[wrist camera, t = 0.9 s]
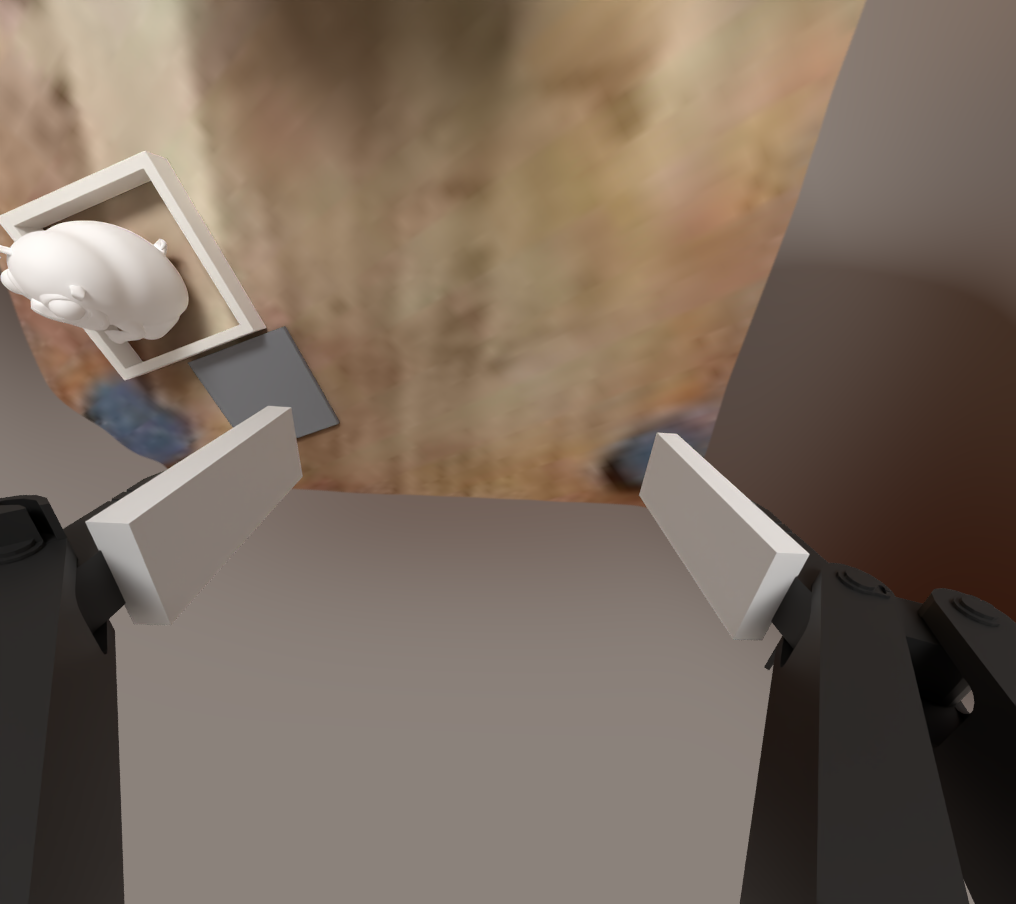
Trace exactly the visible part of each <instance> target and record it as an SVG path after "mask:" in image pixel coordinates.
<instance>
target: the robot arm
mask: <svg viewBox="0 0 1016 904" xmlns="http://www.w3.org/2000/svg"><path fill="white" fill-rule="evenodd" d="M302 477H303V476H302V470H301V464H300V458H299V452H298V446H297V440H296V434H295V428H294V422H293V416H292V409H291V407H279V406H267V407H265V408H264V409H262V410H261V411H259V412H257V413H256V414H254V415H253V416H251V417H250V418H248V419H246V420H245V421H243V422H242V423H240V424H239V425H237V426H235V427H234V428H232V429H231V430H229V431H227V432H226V433H224V434H223V435H221V436H220V437H218V438H216V439H215V440H213V441H212V442H210V443H209V444H207V445H205V446H204V447H202V448H201V449H199V450H198V451H196V452H194V453H193V454H191V455H190V456H188V457H186V458H185V459H183V460H182V461H180V462H179V463H177V464H175V465H174V466H172V467H171V468H169V469H168V470H166V471H163V472H161V473H158V474H155V475H153V476H150V477H147V478H145V479H143V480H142V481H140V482H138V483H137V484H135V485H133V486H132V487H130V488H129V489H127V492H122V493H121V494H119V495H117V496H116V497H114V498H112V501H111V502H110V501H108V502H106V503H105V504H103V505H101V506H100V507H98V508H97V509H95V510H93V511H92V512H90V513H88V514H87V515H85V516H83V517H82V518H80V519H79V520H77V521H75V522H74V523H72V524H70V525H69V526H67V527H66V528H64V529H62V527H61V525H60V523H59V521H58V519H57V517H56V515H55V514H54V511H53V509H52V507H51V505H50V504H49V502H48V500H47V498H45V497H41V496H37V495H19V496H13V497H6V498H0V904H124V879H123V853H122V852H123V851H122V822H121V795H120V766H119V738H118V708H117V682H116V681H117V679H116V651H115V630H114V628H113V626H112V624H111V622H110V621H109V618H110V617H111V616H113V615H114V614H115V613H116V612H117V611H118V610H119V609H120V608H121V607H122V606H123V605H125V607H126V609H127V611H128V613H129V615H130V617H131V619H132V621H133V623H134V624H147V625H171V624H172V623H173V622H174V621H175V620H176V619H177V617H179V615H180V614H181V613H182V612H183V611H184V610H185V608H187V606H188V605H189V604H190V603H191V602H192V601H193V600H194V598H195V597H196V596H197V595H198V594H199V593H200V592H201V591H202V589H203V588H204V587H205V586H206V585H207V584H208V583H209V581H210V580H211V579H212V578H213V577H214V576H215V575H216V574H217V572H218V571H219V570H220V569H221V568H222V567H223V566H224V564H225V563H226V562H227V561H228V560H229V559H230V558H231V557H232V555H233V554H234V553H235V552H236V551H237V550H238V549H239V548H240V547H241V545H242V544H243V543H244V542H245V541H246V540H247V539H248V538H249V536H250V535H251V534H252V533H253V532H254V531H255V530H256V528H257V527H258V526H259V525H260V524H261V523H262V522H263V521H264V519H265V518H266V517H267V516H268V515H269V514H270V513H271V512H272V510H273V509H274V508H275V507H276V506H277V505H278V504H279V503H280V501H281V500H282V499H283V498H284V497H285V496H286V495H287V493H288V492H289V491H290V490H291V489H292V488H293V487H294V486H295V484H296V483H297V482H298V481H299V480H300V479H301V478H302ZM639 496H640V497H641V499H642V500H643V502H644V503H645V505H646V506H647V508H648V510H649V511H650V512H651V514H652V516H653V517H654V519H655V520H656V521H657V523H658V525H659V526H660V528H661V529H662V531H663V533H664V534H665V536H666V537H667V539H668V540H669V542H670V543H671V545H672V546H673V548H674V549H675V551H676V553H677V554H678V556H679V557H680V559H681V560H682V562H683V563H684V565H685V566H686V568H687V570H688V571H689V573H690V574H691V576H692V577H693V579H694V580H695V582H696V583H697V585H698V586H699V588H700V590H701V591H702V593H703V594H704V596H705V597H706V599H707V600H708V602H709V603H710V605H711V606H712V608H713V610H714V611H715V613H716V614H717V616H718V617H719V619H720V620H721V622H722V623H723V625H724V626H725V628H726V630H727V631H728V633H729V634H730V636H731V637H732V639H733V640H762V639H763V638H764V636H765V634H766V632H767V630H768V629H769V627H770V625H771V623H773V624H774V625H775V627H776V628H777V629H778V630H779V632H780V633H781V634H782V635H783V636H782V638H781V639H780V641H779V643H778V644H777V646H776V648H775V650H774V651H773V653H772V655H771V656H770V658H769V660H768V662H767V663H766V665H765V668H766V669H768V670H770V668H771V667H772V665H774V666H773V673H772V680H771V688H770V694H769V702H768V709H767V715H766V722H765V729H764V736H763V743H762V751H761V758H760V765H759V772H758V779H757V786H756V794H755V800H754V807H753V814H752V821H751V828H750V835H749V842H748V850H747V856H746V863H745V871H744V878H743V885H742V892H741V899H740V904H969V901H968V896H967V892H966V888H965V884H964V881H965V883H966V886H967V888H968V890H969V892H970V894H971V896H972V899H973V901H974V903H975V904H1016V623H1015V622H1014V621H1013V620H1011V619H1010V618H1009V617H1008V616H1007V615H1005V614H1004V613H1002V612H1000V611H999V610H997V609H996V608H994V606H993V605H991V604H989V603H987V602H985V601H983V600H982V601H980V599H979V598H977V597H974V596H972V595H966V594H964V593H961V592H958V591H954V590H949V589H944V588H942V589H934V590H933V592H932V593H931V595H930V596H929V597H928V598H927V600H926V601H925V602H924V603H923V604H921V603H917V602H913V601H910V600H906V599H901V598H897V597H895V595H894V594H893V592H892V591H891V590H890V589H889V588H888V587H887V586H885V585H884V584H883V583H882V582H880V581H879V580H877V579H875V578H874V577H873V576H871V575H869V574H867V573H865V572H863V571H861V570H859V569H856V568H853V567H850V566H847V565H844V564H837V563H828V562H827V561H826V560H824V559H823V558H822V557H821V556H820V555H818V553H816V552H815V551H814V550H813V549H812V548H811V547H810V546H808V545H807V544H806V543H805V542H804V541H803V540H802V539H800V538H799V537H798V536H797V535H796V534H793V533H792V531H791V530H790V529H789V528H788V527H787V526H786V525H785V524H782V523H781V521H780V520H779V519H778V518H777V517H776V516H774V515H773V514H772V513H771V512H770V511H769V510H767V509H765V508H763V507H762V506H760V505H758V504H756V503H755V502H753V501H750V500H749V499H748V498H747V497H746V496H745V495H744V494H743V493H741V492H740V491H739V490H738V489H737V488H736V487H735V486H734V485H732V484H731V483H730V482H729V481H728V480H727V479H726V478H725V477H724V476H723V475H721V474H720V473H719V472H718V471H717V470H716V469H715V468H714V467H712V466H711V465H710V464H709V463H708V462H707V461H706V460H705V459H704V458H703V457H702V456H700V455H699V454H698V453H697V452H696V451H695V450H694V449H693V448H692V447H691V446H689V445H688V444H687V443H686V442H685V441H684V440H683V439H682V438H681V437H679V436H678V435H677V434H670V433H657V434H656V438H655V441H654V445H653V448H652V452H651V455H650V459H649V462H648V466H647V470H646V473H645V477H644V480H643V484H642V487H641V491H640V494H639ZM971 690H972V692H973V695H974V708H973V711H972V713H969V712H968V711H967V709H966V708H965V707H964V705H963V703H962V702H961V700H962V699H963V698H964V697H965V696H966V695H967V694H968V693H969V692H970V691H971ZM963 879H964V880H963Z"/></svg>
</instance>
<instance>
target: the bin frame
mask: <svg viewBox="0 0 1016 904" xmlns="http://www.w3.org/2000/svg"><path fill="white" fill-rule="evenodd" d="M149 181H152V183H153V185H154V186H155V188H156V189H157V191H158V193H159V194H160V196H161V198H162V199H163V201H164V202H165V204H166V206H167V207H168V209H169V211H170V212H171V214H172V215H173V217H174V219H175V220H176V222H177V224H178V225H179V227H180V228H181V230H182V232H183V233H184V235H185V237H186V238H187V240H188V241H189V243H190V245H191V246H192V248H193V249H194V251H195V253H196V254H197V256H198V258H199V259H200V261H201V262H202V264H203V266H204V267H205V269H206V271H207V272H208V274H209V275H210V277H211V279H212V280H213V282H214V284H215V285H216V287H217V288H218V290H219V292H220V293H221V295H222V297H223V298H224V300H225V301H226V303H227V305H228V306H229V308H230V310H231V311H232V313H233V314H234V316H235V318H236V319H237V321H238V323H239V324H240V325H238V326H235V327H233V328H230V329H228V330H225V331H222V332H220V333H217V334H215V335H212V336H209V337H207V338H204V339H202V340H199V341H196V342H194V343H191V344H189V345H186V346H183V347H181V348H178V349H176V350H173V351H170V352H168V353H165V354H163V355H160V356H157V357H155V358H152V359H150V360H147V361H144V362H143V361H142V360H141V358H140V357H139V356H138V354H137V353H136V352H135V351H134V349H133V348H132V347H131V345H130V344H129V343H128V341H125V342H124V343H122V344H118V343H115V342H113V341H112V340H111V339H109V337H108V335H107V334H106V333H105V331H107V330H109V331H110V330H117V331H119V329H118V328H117V327H116V326H114V325H109V327H108V328H107V329H105V330H102V331H94V330H89V329H85V328H83V329H84V330H85V331H86V333H87V334H88V335H89V336H90V338H91V339H92V340H93V341H94V343H95V344H96V345H97V346H98V348H99V349H100V350H101V352H102V353H103V354H104V355H105V357H106V358H107V359H108V360H109V362H110V363H111V364H112V365H113V367H114V368H115V369H116V370H117V372H118V373H119V374H120V376H121V377H122V378H123V379H124V380H128V379H131V378H134V377H138V376H141V375H144V374H147V373H149V372H152V371H155V370H157V369H160V368H163V367H165V366H168V365H170V364H173V363H176V362H178V361H181V360H184V359H186V358H189V357H191V356H194V355H197V354H199V353H202V352H205V351H207V350H210V349H212V348H215V347H218V346H220V345H223V344H226V343H228V342H231V341H233V340H236V339H239V338H241V337H244V336H247V335H249V334H252V333H254V332H257V331H260V330H262V329H265V328H267V327H266V326H265V324H264V322H263V321H262V319H261V317H260V316H259V314H258V312H257V310H256V309H255V307H254V305H253V304H252V302H251V300H250V299H249V297H248V295H247V293H246V292H245V290H244V288H243V287H242V285H241V283H240V282H239V280H238V278H237V277H236V275H235V273H234V271H233V270H232V268H231V266H230V265H229V263H228V261H227V260H226V258H225V256H224V254H223V253H222V251H221V249H220V248H219V246H218V244H217V243H216V241H215V239H214V237H213V236H212V234H211V232H210V231H209V229H208V227H207V226H206V224H205V222H204V220H203V219H202V217H201V215H200V214H199V212H198V210H197V209H196V207H195V205H194V203H193V202H192V200H191V198H190V197H189V195H188V193H187V192H186V190H185V188H184V186H183V185H182V183H181V181H180V180H179V178H178V176H177V175H176V173H175V171H174V169H173V168H172V166H171V164H170V163H169V161H168V159H167V158H165V157H162V156H159V155H156V154H154V153H151V152H148V151H143V152H140V153H138V154H136V155H134V156H132V157H129V158H127V159H125V160H123V161H120V162H118V163H116V164H114V165H112V166H109V167H107V168H105V169H103V170H100V171H98V172H96V173H94V174H91V175H89V176H87V177H85V178H83V179H80V180H78V181H76V182H74V183H71V184H69V185H67V186H65V187H63V188H60V189H58V190H56V191H54V192H51V193H49V194H47V195H45V196H42V197H40V198H38V199H36V200H34V201H31V202H29V203H27V204H25V205H22V206H20V207H18V208H16V209H14V210H11V211H9V212H7V213H5V214H2V215H0V224H1V225H2V227H3V228H4V229H5V230H6V232H7V233H8V234H9V235H10V237H11V238H12V239H13V240H14V242H15V241H16V240H18V239H19V238H20V237H22V236H24V235H26V234H28V233H31V232H35V231H44V230H43V228H45V227H47V226H49V225H51V224H54V223H56V222H58V221H61V220H63V219H65V218H67V217H70V216H72V215H74V214H76V213H79V212H81V211H83V210H86V209H88V208H90V207H92V206H95V205H97V204H99V203H102V202H104V201H106V200H108V199H111V198H113V197H115V196H117V195H120V194H122V193H124V192H127V191H129V190H131V189H133V188H136V187H138V186H140V185H143V184H145V183H147V182H149Z"/></svg>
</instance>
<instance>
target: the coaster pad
mask: <svg viewBox="0 0 1016 904" xmlns="http://www.w3.org/2000/svg"><path fill="white" fill-rule="evenodd" d="M188 364H189V366H190V367H191V368H192V370H193V371H194V373H195V374H196V376H197V377H198V378H199V380H200V381H201V383H202V384H203V385H204V387H205V388H206V390H207V391H208V393H209V394H210V395H211V397H212V398H213V400H214V401H215V403H216V404H217V405H218V407H219V408H220V410H221V411H222V413H223V414H224V415H225V417H226V418H227V420H228V421H229V422H230V424H231V425H232V427H233V428H234V427H235V426H237V425H239V424H240V423H242V422H243V421H245V420H246V419H248V418H250V417H251V416H253V415H254V414H256V413H257V412H259V411H261V410H262V409H264V408H265V407H267V406H279V407H291V409H292V416H293V422H294V428H295V434H296V438H299V437H302V436H304V435H307V434H310V433H313V432H316V431H319V430H322V429H325V428H328V427H330V426H333V425H336V424H338V423H339V420H338V418H337V416H336V415H335V413H334V411H333V409H332V408H331V406H330V404H329V402H328V401H327V399H326V397H325V395H324V393H323V392H322V390H321V388H320V386H319V385H318V383H317V381H316V379H315V378H314V376H313V374H312V372H311V371H310V369H309V367H308V365H307V363H306V362H305V360H304V358H303V356H302V355H301V353H300V351H299V349H298V348H297V346H296V344H295V342H294V341H293V339H292V337H291V335H290V334H289V332H288V330H287V328H286V326H284V327H281V328H278V329H276V330H273V331H271V332H268V333H265V334H263V335H260V336H257V337H255V338H252V339H249V340H247V341H244V342H242V343H239V344H236V345H234V346H231V347H228V348H226V349H223V350H221V351H218V352H215V353H213V354H210V355H207V356H205V357H202V358H199V359H197V360H194V361H192V362H189V363H188Z"/></svg>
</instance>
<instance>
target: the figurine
mask: <svg viewBox="0 0 1016 904" xmlns="http://www.w3.org/2000/svg"><path fill="white" fill-rule="evenodd" d="M0 252H2V253H4V254H7V265H8V269H7V270H5V271H3V272H2V274H1V281H2V283H3V284H4V286H5V287H6V288H8V289H9V290H10V291H12V292H14V293H17V294H20V295H24V296H25V297H27V298H28V299H29V300H30V301H31V309H32V310H33V311H35V312H36V313H38V314H40V315H42V316H44V317H47V318H49V319H52V320H56V321H60V322H64V323H68V324H72V325H75V326H78V327H81V328H85V329H89V330H94V331H102V330H105V329H107V328H108V327H109V325H114V326H116V327H118V328H119V329H121V330H123V331H117V330H110V331H109V330H107V331H105V333H106V334H107V335H108V337H109V339H111V340H112V341H113V342H115V343H118V344H122V343H124V342H125V341H134V340H140V339H142V338H145V339H149V340H155V339H159V338H161V337H163V336H164V335H165V334H166V333H167V332H168V331H169V330H170V329H171V328H172V327H173V326H174V325H175V324H176V323H177V322H178V320H179V317H180V315H181V314H182V313H183V312H184V311H185V310H186V308H187V306H188V301H189V298H188V292H187V288H186V285H185V283H184V281H183V279H182V277H181V275H180V274H179V272H178V271H177V269H176V268H175V267H174V265H173V264H172V263H171V262H170V260H169V259H168V258H167V257H166V253H167V243H166V242H165V241H164V240H163V239H159V240H158V241H157V242H156V243H155V244H151V243H150V242H148V241H147V240H146V239H144V238H142V237H141V236H139V235H137V234H135V233H134V232H132V231H129V230H127V229H125V228H122V227H119V226H116V225H113V224H109V223H105V222H98V221H69V222H64V223H60V224H57V225H55V226H52V227H51V228H49V229H47V230H45V231H35V232H31V233H28V234H26V235H24V236H22V237H20V238H19V239H18V240H16V241H15V242H14V243H13V244H12V246H11V247H10V248H8V247H5V246H1V245H0ZM0 258H1V257H0Z"/></svg>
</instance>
